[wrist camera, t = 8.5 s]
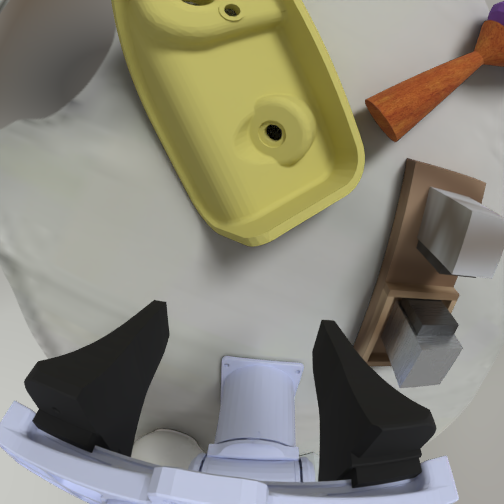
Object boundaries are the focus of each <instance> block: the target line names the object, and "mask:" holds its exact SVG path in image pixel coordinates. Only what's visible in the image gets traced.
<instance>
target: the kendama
mask: <svg viewBox="0 0 504 504" xmlns="http://www.w3.org/2000/svg"><path fill="white" fill-rule="evenodd" d="M482 64H484V65H494V66H502V67H504V1H503V2H499V3H497V4H495V5H493V7H492V9H491V11H490V13H489V16H488V20H487V21H485V22H484V23H483V25H482V28H481V31H480V34H479V37H478V40H477V43H476V46H475V49H474V52H472V53H469V54H466V55H464V56H461V57H459V58H456V59H454V60H451V61H449V62H446V63H444V64H441V65H439V66H437V67H434V68H432V69H430V70H427V71H425V72H423V73H421V74H418V75H416V76H414V77H412V78H410V79H407V80H405V81H403V82H401V83H399V84H397V85H395V86H393V87H390V88H388V89H386V90H384V91H382V92H380V93H378V94H376V95H374V96H372V97H370V98H368V99H366V100H365V104H366V106H367V108H368V110H369V112H370V114H371V115H372V117H373V118H374V120H375V121H376V123H377V124H378V125H379V127H380V128H381V129H382V130H383V132H384V133H385V134H386V135H387V136H388V137H389V138H390V139H391V140H392V141H394V142H397V141H398V140H399V139H400V138H401V137H402V136H404V135H405V134H406V133H407V132H408V131H409V130H410V129H411V128H413V127H414V126H415V125H416V124H417V123H418V122H419V121H420V120H422V119H423V118H424V117H425V116H426V115H427V114H428V113H429V112H430V111H432V110H433V109H434V108H435V107H436V106H437V105H438V104H439V103H441V102H442V101H443V100H444V99H445V98H446V97H447V96H448V95H449V94H451V93H452V92H453V91H454V90H455V89H456V88H457V87H458V86H459V85H460V84H462V83H463V82H464V81H465V80H466V79H467V78H468V77H469V76H470V75H472V74H473V73H474V72H475V71H476V70H477V69H478V68H479V67H480V66H481V65H482Z"/></svg>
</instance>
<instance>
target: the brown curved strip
mask: <svg viewBox="0 0 504 504" xmlns="http://www.w3.org/2000/svg"><path fill="white" fill-rule="evenodd" d="M200 453H204V452H203V451H202V449H201V448H200V447H199V446H198V443H197V441H196V440H195V439H193V438H192V437H190V436H189V435H186V434H184V433H182V432H179V431H175V430H170V429H157V430H155V431H154V432H153V433H149V434H147V435H144V436H143V437H141V438H140V439H139V440H138V441H136V442H135V444H134V445H133V449H132V455H131V458H135V459H138V460H142V461H145V462H149V463H153V464H156V465H160V466H171V467H178V468H183V469H188V467H189V465H190V463H191V461H192V460H193V459H194V458H195V457H197V455H198V454H200Z"/></svg>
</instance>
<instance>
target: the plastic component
mask: <svg viewBox="0 0 504 504" xmlns="http://www.w3.org/2000/svg"><path fill="white" fill-rule="evenodd" d="M111 2H112V8H113V13H114V19H115V23H116V28H117V32H118V36H119V40H120V43H121V47H122V51H123V54H124V57H125V60H126V63H127V66H128V69H129V72H130V75H131V77H132V80H133V83H134V85H135V88H136V90H137V93H138V95H139V97H140V100H141V102H142V104H143V106H144V109H145V111H146V113H147V115H148V117H149V119H150V121H151V123H152V125H153V127H154V129H155V131H156V133H157V135H158V137H159V139H160V141H161V143H162V145H163V147H164V149H165V151H166V153H167V155H168V157H169V159H170V161H171V163H172V165H173V167H174V168H175V170H176V172H177V174H178V176H179V178H180V180H181V182H182V184H183V186H184V188H185V190H186V191H187V193H188V195H189V197H190V199H191V201H192V203H193V205H194V206H195V208H196V209H197V211H198V212H199V214H200V215H201V216H202V218H203V219H204V220H205V222H206V223H207V224H208V225H209V226H210V227H211V228H212V229H213V230H214V231H215V232H217V233H218V234H220V235H222V236H225V237H227V238H229V239H232V240H234V241H237V242H239V243H241V244H244V245H246V246H251V247H253V246H259V245H263V244H265V243H268V242H271V241H272V240H274V239H276V238H277V237H279V236H281V235H282V234H284V233H285V232H287V231H289V230H290V229H292V228H294V227H295V226H297V225H299V224H300V223H302V222H304V221H305V220H307V219H308V218H310V217H312V216H313V215H315V214H317V213H318V212H320V211H322V210H323V209H325V208H327V207H328V206H330V205H331V204H333V203H335V202H336V201H338V200H340V199H341V198H343V197H345V196H346V195H348V194H349V193H350V192H351V191H352V190H353V189H354V188H355V187H356V186H357V184H358V182H359V181H360V179H361V176H362V173H363V170H364V164H365V153H364V146H363V143H362V140H361V137H360V134H359V131H358V128H357V125H356V122H355V119H354V116H353V113H352V111H351V108H350V105H349V103H348V100H347V97H346V95H345V92H344V90H343V87H342V84H341V82H340V80H339V77H338V75H337V72H336V70H335V68H334V65H333V63H332V61H331V58H330V56H329V54H328V52H327V50H326V47H325V45H324V43H323V41H322V39H321V37H320V35H319V33H318V31H317V29H316V27H315V25H314V23H313V21H312V19H311V17H310V15H309V13H308V11H307V9H306V8H305V6H304V4H303V2H302V0H111ZM185 2H193V3H196V4H198V5H199V6H195V5H190V4H187V3H185ZM224 9H232V10H234V11H235V12H236V15H237V16H235V17H234V16H229V15H227V14H226V13H225V11H224ZM270 124H272V125H277V126H278V127H279V128H280V129H281V130H282V137H281V139H280V140H273V139H271V138H270V137H269V136H268V135H267V131H266V129H267V127H268V125H270Z"/></svg>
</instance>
